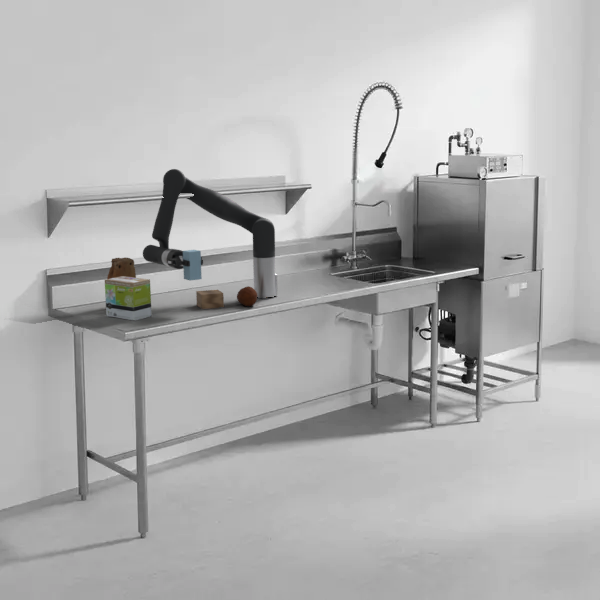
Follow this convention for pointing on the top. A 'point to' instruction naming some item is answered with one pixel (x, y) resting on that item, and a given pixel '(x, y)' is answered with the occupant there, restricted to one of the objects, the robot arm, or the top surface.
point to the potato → (247, 296)
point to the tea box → (128, 298)
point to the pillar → (192, 265)
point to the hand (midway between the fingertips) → (195, 263)
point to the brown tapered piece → (122, 268)
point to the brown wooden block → (209, 299)
